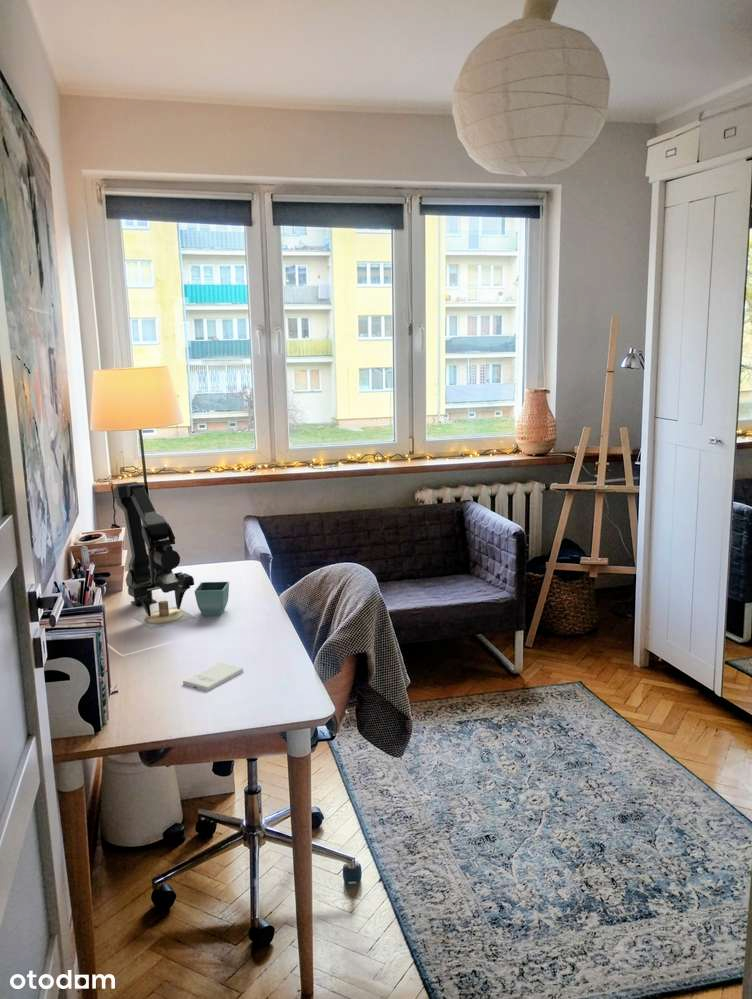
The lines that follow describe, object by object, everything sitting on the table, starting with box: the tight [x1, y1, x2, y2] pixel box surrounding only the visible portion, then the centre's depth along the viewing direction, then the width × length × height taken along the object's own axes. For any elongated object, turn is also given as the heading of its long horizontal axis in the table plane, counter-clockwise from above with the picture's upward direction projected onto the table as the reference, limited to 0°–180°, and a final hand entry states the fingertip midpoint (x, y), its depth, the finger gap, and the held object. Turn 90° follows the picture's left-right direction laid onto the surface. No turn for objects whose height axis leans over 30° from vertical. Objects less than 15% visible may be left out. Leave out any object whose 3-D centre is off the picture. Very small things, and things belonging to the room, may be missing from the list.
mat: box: [133, 606, 197, 630], centre depth 235 cm, size 14×14×1 cm
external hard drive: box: [182, 662, 244, 692], centre depth 190 cm, size 2×8×12 cm
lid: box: [145, 600, 183, 624], centre depth 234 cm, size 11×11×5 cm
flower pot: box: [194, 581, 230, 617], centre depth 236 cm, size 9×9×9 cm
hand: (164, 612), depth 235 cm, fingers open, 9 cm apart
